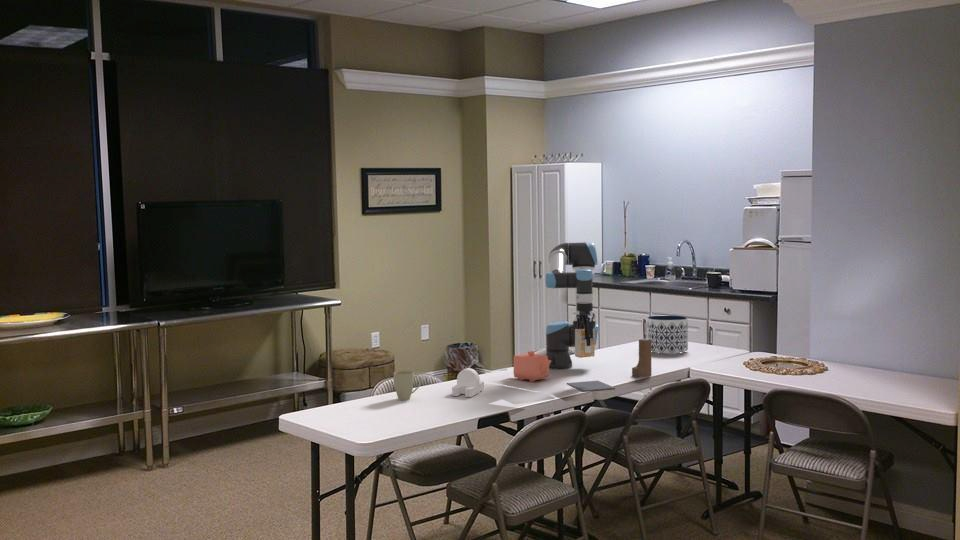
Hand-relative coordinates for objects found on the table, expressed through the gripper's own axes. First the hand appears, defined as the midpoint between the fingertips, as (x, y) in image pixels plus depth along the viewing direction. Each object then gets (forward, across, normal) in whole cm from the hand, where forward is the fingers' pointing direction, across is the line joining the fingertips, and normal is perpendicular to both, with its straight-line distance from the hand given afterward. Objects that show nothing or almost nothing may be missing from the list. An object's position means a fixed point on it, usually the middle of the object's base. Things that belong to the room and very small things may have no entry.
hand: (584, 351), depth 405 cm
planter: (+15, -62, +80) cm, 102 cm away
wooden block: (+16, -7, +34) cm, 38 cm away
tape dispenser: (+16, -5, -56) cm, 58 cm away
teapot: (+16, -18, -20) cm, 31 cm away
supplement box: (+2, 0, 0) cm, 2 cm away
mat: (+15, +6, 0) cm, 16 cm away
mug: (+16, 0, -86) cm, 87 cm away
